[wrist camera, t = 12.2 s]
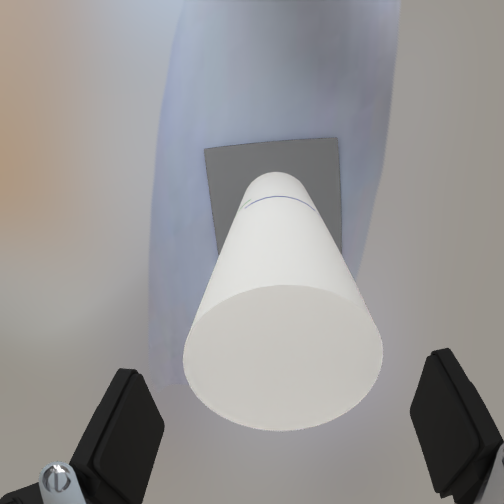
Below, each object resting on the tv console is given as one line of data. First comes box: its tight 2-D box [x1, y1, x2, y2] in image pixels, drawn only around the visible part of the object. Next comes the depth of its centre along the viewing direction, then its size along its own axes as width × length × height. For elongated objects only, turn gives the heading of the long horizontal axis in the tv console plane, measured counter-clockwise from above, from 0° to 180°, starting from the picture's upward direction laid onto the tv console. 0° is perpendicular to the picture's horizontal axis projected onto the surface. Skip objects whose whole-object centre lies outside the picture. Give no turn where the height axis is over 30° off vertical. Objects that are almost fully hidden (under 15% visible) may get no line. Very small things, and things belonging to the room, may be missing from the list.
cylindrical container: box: [183, 172, 383, 431], centre depth 22 cm, size 7×7×25 cm
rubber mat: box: [204, 138, 342, 255], centre depth 34 cm, size 14×14×1 cm
